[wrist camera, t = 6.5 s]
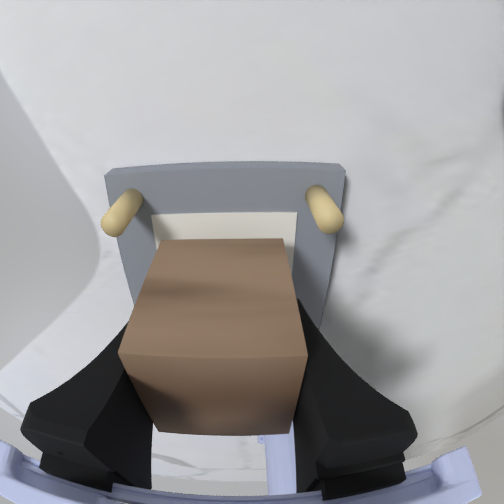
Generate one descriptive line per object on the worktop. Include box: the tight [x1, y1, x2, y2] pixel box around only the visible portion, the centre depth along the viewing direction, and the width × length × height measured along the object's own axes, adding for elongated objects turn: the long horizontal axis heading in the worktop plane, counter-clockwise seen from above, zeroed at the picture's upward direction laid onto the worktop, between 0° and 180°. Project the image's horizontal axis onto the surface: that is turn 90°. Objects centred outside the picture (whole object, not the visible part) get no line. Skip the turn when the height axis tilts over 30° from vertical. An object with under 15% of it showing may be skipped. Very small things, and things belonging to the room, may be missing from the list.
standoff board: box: [101, 161, 346, 330], centre depth 14 cm, size 10×10×4 cm
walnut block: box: [118, 238, 308, 436], centre depth 11 cm, size 5×5×6 cm
